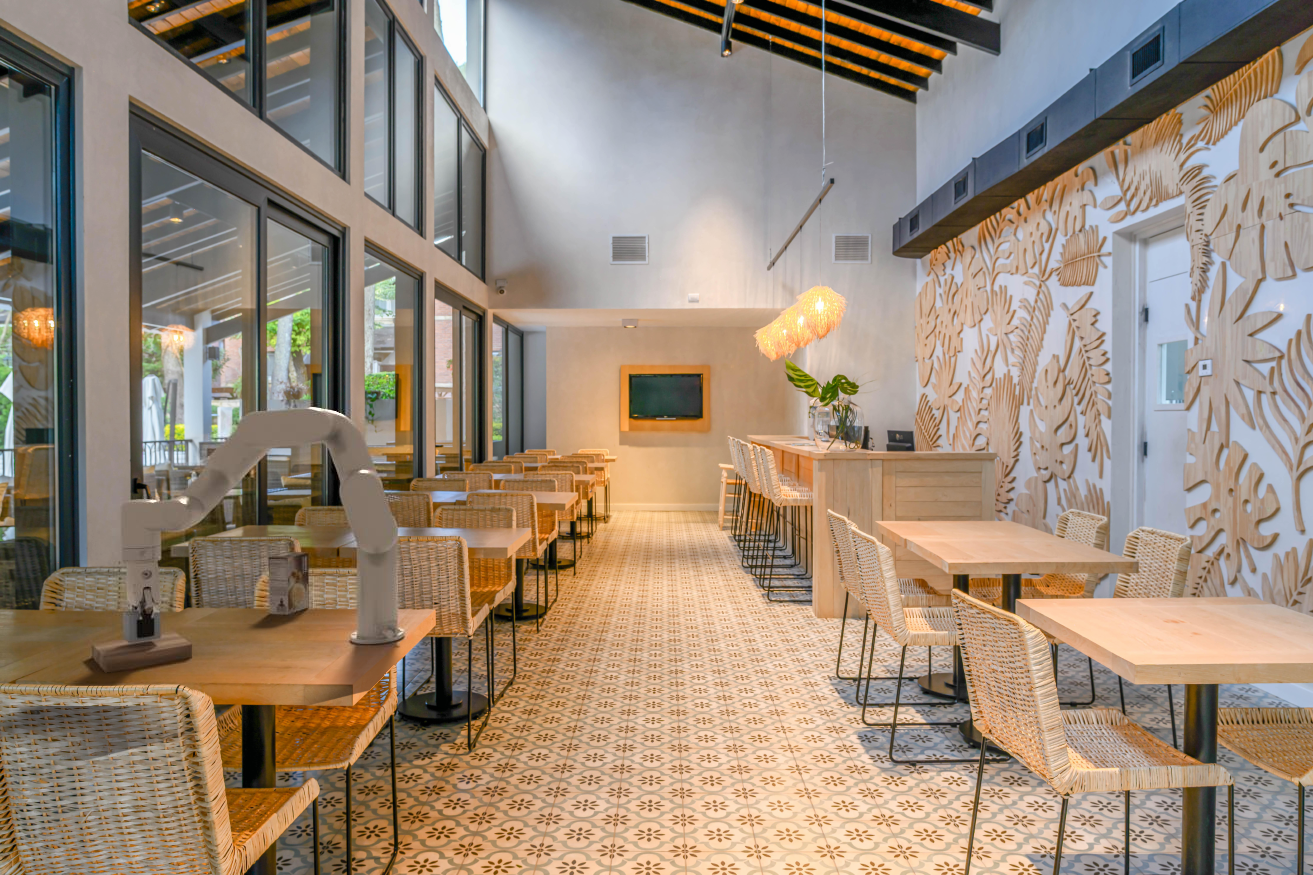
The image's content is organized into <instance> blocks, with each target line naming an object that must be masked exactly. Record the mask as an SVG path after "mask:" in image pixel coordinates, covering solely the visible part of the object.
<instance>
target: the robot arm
mask: <svg viewBox="0 0 1313 875" xmlns="http://www.w3.org/2000/svg"><path fill="white" fill-rule="evenodd" d="M236 426H237V427H236V429H235V430H234V431H233V432H232V433H231V434H230V435H229V436H228V437H227V439H225V440H224V441H223V442H222V444H220V445H219V446H218V447H217V448H216V449H215V450H214V451H213V452H212V453H211V454H210V455H209V457H208V458H207V460H206V462H205V466H204V467H203V470H202V471H201V472H200V474H198V476H197V477H196V478H195V479H194V481H192V483H191V484H189V485H188V487H186V488H185V489H184V491H182V492H181V494H179V495H178V496H177V497H174V498H170V499H166V500H165V499H164V500H159V501H158V500H156V499H152V498H150V499H148V498H142V499H138V498H137V499H130V500H129V499H128V500H125V501H124V502H122V504H121V505H120V563H121V564H126V569H125V570H126V575H125V576H126V578H125V580H126V591H125V592H126V598H127V602H128V603H129V604H130V610H129V611H133V610H138V619H139V620H137V637H138V638H144V637H150V636H154V611H153V608H154V604H155V605H159V604H161V603H162V601H161V585H160V584H161V583H160V581H161V580H160V570H159V564H158V561H161V559H162V532H169V533H180V532H184V531H186V530H188V529H191V527H194V526H196V525H198V524H199V523H200V522H201V521H202V520H203V519H204V518H205V517H206V516H207V515H208V514H209V513H210V512H211V511H212V510H213V509H214V508H216V506H217V505H218V504H219V503H220V502H221V501H222V500H223V499H224V498H225V497H226V496H227V495H228V493H229V492H230V491H232V489H234V488H235V487H236V486H237V485H238V484H239V483H240V482H241V480H242V479H243V478H244V477H245V476H246V475H247V474H248V473H249V472H250V471H251V470H252V469H253V468H254V467H255V466H256V464H258V463H259V462H260V461H261V460H262V459H263V458H264V457H265V456H266V455H267V454H268V453H269V452H270V451H271V450H272V449H274V448H283V447H293V446H307V445H317V444H323V445H324V446H325V447H326V448H327V449H328V451H329V453H330V456H331V459H332V462H333V464H334V465H333V466H334V467H335V469H336V472H337V476H338V478H339V482H340V485H339V490H338V491H339V497H340V502H341V505H342V506H343V509H344V512H345V516H346V518H347V520H348V523H349V527H350V529H351V532H352V534H353V535H352V536H353V537H354V540H355V543H356V630H355V631H354V632H352V633H350V635H349V640H350V642H352V643H355V644H358V645H377V644H378V645H379V644H387V643H391V642H395V641H397V640H400V639H403V637H405V629H403V628H400V627H399V623H398V622H399V618H398V617H399V609H398V608H399V602H398V597H399V596H398V589H399V588H398V587H399V586H398V585H399V584H398V581H399V579H398V576H399V575H398V574H399V571H398V570H399V568H398V567H399V565H398V564H399V561H398V560H399V559H398V558H399V557H398V553H399V552H398V550H399V546H398V544H399V543H398V541H399V540H398V539H399V536H398V535H399V531H398V530H399V529H398V528H399V527H398V522H397V520H396V518H395V517H394V515H393V514H392V510H391V508H390V505H389V504H390V503H389V502H388V499H387V495H386V492H385V490H384V487H383V482H382V479H381V478H380V476H379V474H378V471H377V470H376V467H375V463H374V461H373V458H372V456H371V453H370V450H369V448H368V445H367V443H366V440H365V438H364V435H363V433H362V432H361V430H360V429H359V427H358V426H357V424H356V423H355V422H354V421H353V420H352V419H350V417H347V416H346V415H344V414H343V413H339V412H337V411H335V410H331V409H326V408H324V409H323V408H320V407H301V408H300V407H299V408H291V409H290V408H289V409H278V410H259V411H251V412H248V413H247V414H245V415H244V416H243V417H241V419H240V420H239V422H238V423H237V425H236ZM142 609H143V611H142Z"/></svg>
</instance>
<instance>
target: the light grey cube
mask: <svg viewBox="0 0 1313 875" xmlns="http://www.w3.org/2000/svg"><path fill="white" fill-rule="evenodd" d="M142 611H143V609H142ZM153 611H154V636H150V637H144V638H138V637H137V620H139V619H138V610H133V611H130V610H128V611H123V612H122V617H123V618H122V625H123V626H122V629H123V630H122V633H123V636H122V637H123V638H122V639H125V640H126V641H127V642H128V643H129V644H130V643H136V642H142V641H148V640H154V639H160V638H161V633H162V629H161V628H162V626H161V625H162V623H161V622H162V618H161V615H162V614H161V611H160V610H159V609H157V608H156V607H153Z"/></svg>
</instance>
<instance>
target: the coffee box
mask: <svg viewBox="0 0 1313 875" xmlns="http://www.w3.org/2000/svg"><path fill="white" fill-rule="evenodd" d="M309 569H310V568H309V552H308V551H307V552H304V551H301V552H300V551H289V552H285V553H281V554H275V555H272V556H268V599H269V602H268V605H269V606H268V608H269V609H268V610H269V612H268V613H269V614H270V615H283V614H289V615H292V614H294V612H295V613H297V612H299V611H302V610H306V609H308V608H310V584H309V583H310V581H309V580H310V575H309V574H310V572H309V571H310V570H309ZM296 611H297V612H296ZM291 613H292V614H291Z"/></svg>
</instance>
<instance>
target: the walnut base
mask: <svg viewBox="0 0 1313 875" xmlns="http://www.w3.org/2000/svg"><path fill="white" fill-rule="evenodd" d="M91 658H92V659H93V660H94V661H95V662H96V664H97V665H98V664H99V665H98V666H99V667H100V668H101V669H102V670H103V671H104V673H106V672H111V673H114V672H113V671H116V672H120V671H119V670H121V671H126V670H131V669H137V668H143V667H147V666H148V667H149V666H152V665H158V664H159V665H160V664H164V663H170V662H175V661H180V660H185V659H190V658H191V659H192V658H193V644H192V643H191V642H189V641H188V640H187V639H185V638H184V637H182V636H181V635H180V634H178V633H177V632H176V631H174V630H171V631H165V632H161V638H160V639H154V640H148V641H142V642H136V643H130V644H129V643H128V642H127V641H126V640H125V639H124V638H122V639H116V640H110V641H104V642H97V643H92V644H91Z"/></svg>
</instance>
